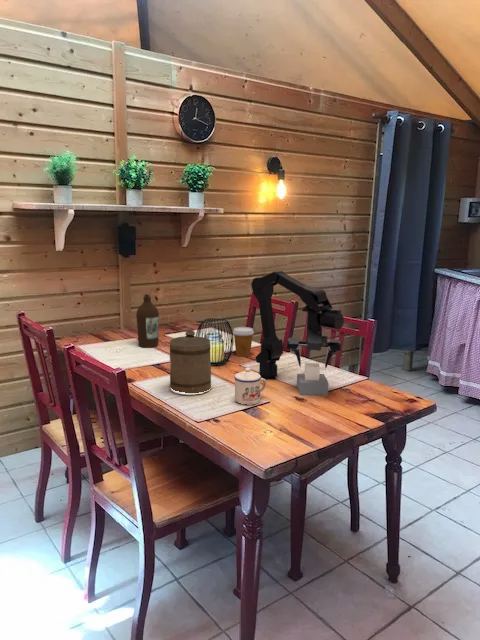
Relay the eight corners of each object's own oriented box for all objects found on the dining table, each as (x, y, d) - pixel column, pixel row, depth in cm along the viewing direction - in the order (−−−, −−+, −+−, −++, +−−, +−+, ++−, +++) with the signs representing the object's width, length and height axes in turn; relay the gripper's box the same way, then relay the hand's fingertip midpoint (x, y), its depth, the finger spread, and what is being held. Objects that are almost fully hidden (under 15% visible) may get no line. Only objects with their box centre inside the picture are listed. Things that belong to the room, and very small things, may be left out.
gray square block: (299, 395, 177) (300, 382, 176) (296, 386, 187) (297, 373, 186) (327, 396, 177) (328, 382, 176) (323, 386, 187) (323, 373, 186)
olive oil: (133, 345, 240) (131, 294, 235) (151, 341, 247) (150, 291, 242) (145, 349, 233) (143, 296, 227) (164, 345, 240) (162, 294, 235)
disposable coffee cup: (257, 354, 227) (257, 328, 225) (246, 359, 219) (246, 332, 217) (239, 350, 232) (240, 325, 230) (228, 355, 224) (228, 329, 222)
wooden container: (188, 379, 192) (188, 324, 187) (219, 387, 184) (219, 329, 179) (161, 390, 180) (160, 331, 175) (192, 399, 172) (192, 337, 167)
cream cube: (305, 380, 179) (305, 366, 177) (304, 375, 183) (304, 362, 182) (319, 380, 178) (319, 367, 177) (318, 376, 183) (318, 363, 182)
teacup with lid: (242, 407, 165) (242, 374, 162) (229, 398, 172) (229, 366, 170) (272, 401, 170) (273, 368, 168) (258, 393, 178) (259, 361, 176)
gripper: (287, 329, 170) (286, 372, 173) (343, 331, 168) (340, 375, 171) (288, 322, 180) (287, 363, 184) (340, 324, 178) (338, 365, 182)
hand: (312, 367), depth 180 cm, fingers open, 9 cm apart
